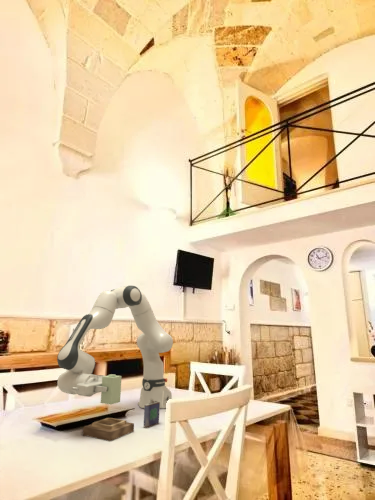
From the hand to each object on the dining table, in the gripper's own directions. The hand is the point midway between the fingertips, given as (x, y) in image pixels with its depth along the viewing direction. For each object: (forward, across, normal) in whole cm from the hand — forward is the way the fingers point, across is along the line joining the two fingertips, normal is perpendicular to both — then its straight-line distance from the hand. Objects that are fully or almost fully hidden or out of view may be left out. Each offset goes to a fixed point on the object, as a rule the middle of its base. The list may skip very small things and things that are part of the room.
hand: (113, 388), depth 134 cm
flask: (+7, +18, +17) cm, 26 cm away
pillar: (-1, 0, +6) cm, 6 cm away
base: (-1, 0, +17) cm, 17 cm away
